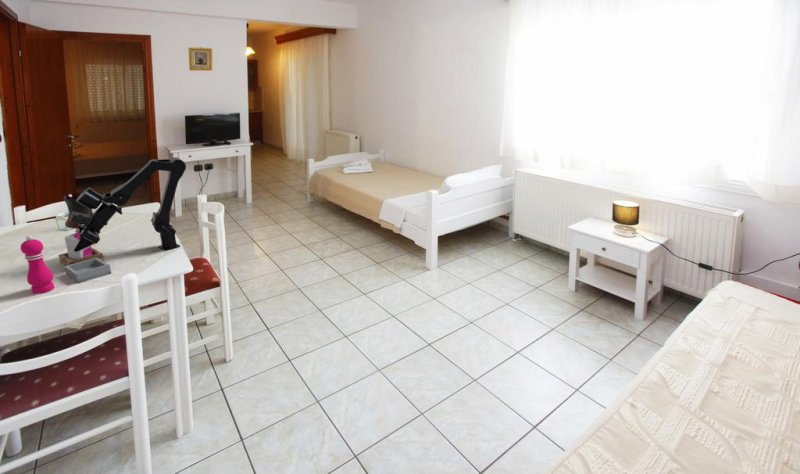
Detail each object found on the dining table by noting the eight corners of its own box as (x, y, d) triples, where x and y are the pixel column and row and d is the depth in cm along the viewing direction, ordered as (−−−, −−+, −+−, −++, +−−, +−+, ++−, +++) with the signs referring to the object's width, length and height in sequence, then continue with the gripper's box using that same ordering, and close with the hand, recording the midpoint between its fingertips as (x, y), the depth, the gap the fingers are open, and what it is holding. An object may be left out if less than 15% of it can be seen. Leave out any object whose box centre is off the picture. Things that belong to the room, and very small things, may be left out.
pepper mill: (39, 285, 163) (24, 232, 156) (60, 284, 164) (47, 232, 157) (25, 294, 156) (9, 239, 149) (48, 294, 157) (33, 239, 150)
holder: (104, 261, 184) (102, 253, 182) (71, 270, 175) (69, 262, 174) (92, 254, 190) (90, 246, 189) (60, 263, 181) (58, 254, 180)
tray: (111, 273, 173) (109, 264, 172) (78, 283, 165) (76, 274, 164) (98, 265, 180) (96, 257, 178) (66, 275, 171) (64, 266, 170)
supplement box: (82, 266, 179) (76, 238, 175) (69, 264, 180) (63, 237, 176) (94, 260, 185) (88, 233, 181) (82, 258, 186) (76, 232, 182)
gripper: (80, 198, 184) (53, 229, 181) (82, 210, 169) (52, 244, 167) (107, 214, 191) (81, 244, 188) (111, 226, 176) (83, 259, 174)
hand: (74, 247), depth 179 cm, fingers open, 9 cm apart
